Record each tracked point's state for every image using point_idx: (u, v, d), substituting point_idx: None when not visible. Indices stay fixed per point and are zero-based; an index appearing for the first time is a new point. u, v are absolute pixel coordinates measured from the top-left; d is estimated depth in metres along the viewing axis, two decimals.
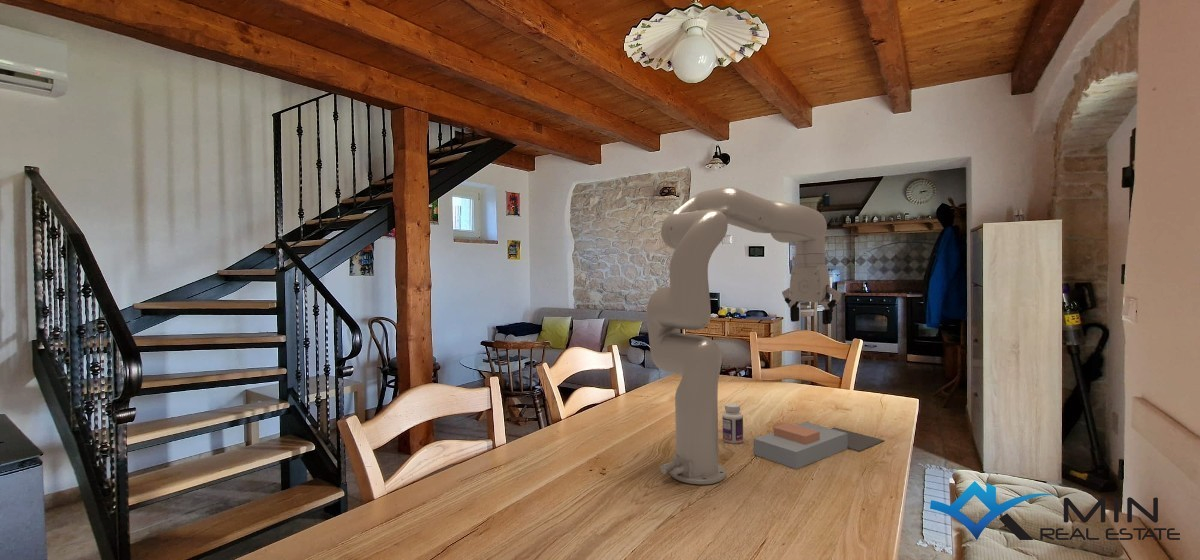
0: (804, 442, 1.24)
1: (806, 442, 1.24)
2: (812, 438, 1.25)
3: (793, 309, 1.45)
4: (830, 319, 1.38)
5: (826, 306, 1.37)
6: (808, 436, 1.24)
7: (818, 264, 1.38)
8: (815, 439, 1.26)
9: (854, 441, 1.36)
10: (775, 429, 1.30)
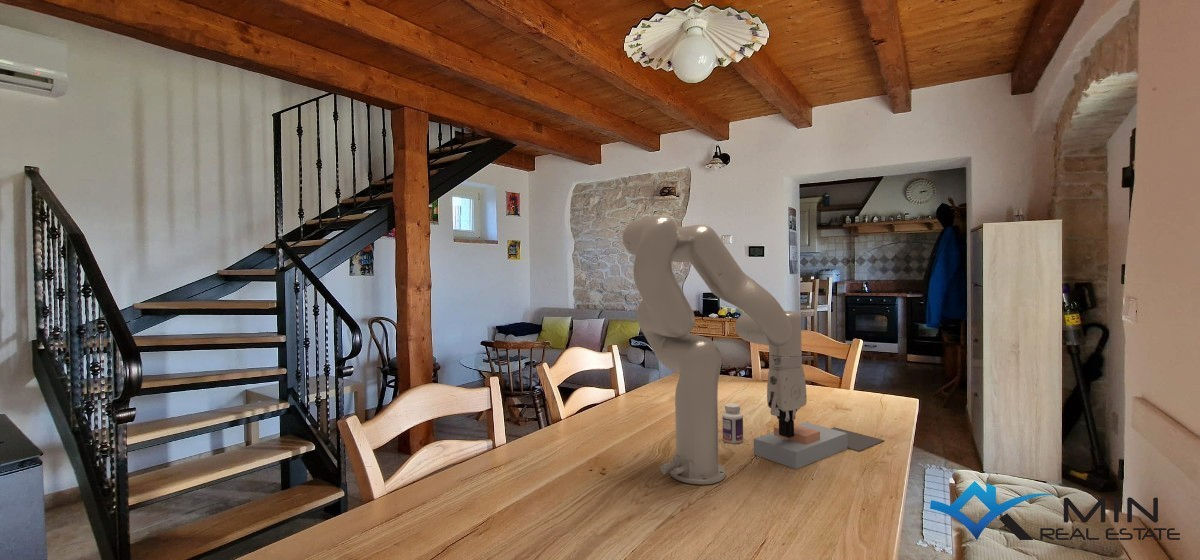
0: (805, 442, 1.24)
1: (807, 442, 1.24)
2: (813, 438, 1.25)
3: None
4: None
5: (793, 416, 1.26)
6: (809, 436, 1.24)
7: None
8: (815, 439, 1.26)
9: (854, 441, 1.36)
10: (775, 429, 1.30)
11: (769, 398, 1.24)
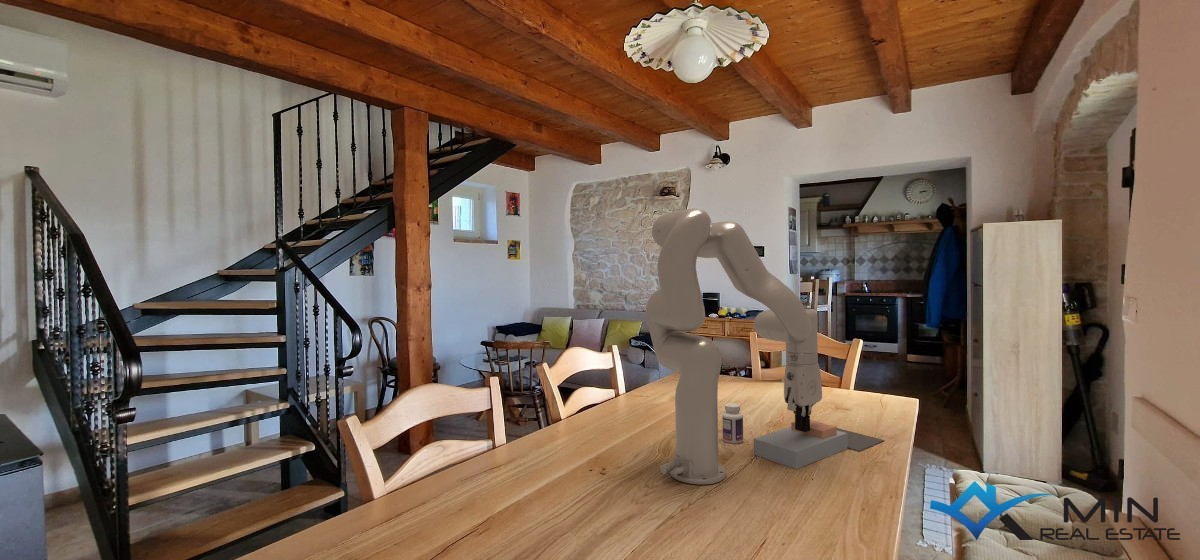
0: (821, 436, 1.27)
1: (823, 436, 1.27)
2: (829, 433, 1.29)
3: None
4: None
5: (809, 411, 1.30)
6: (825, 431, 1.28)
7: None
8: (832, 434, 1.29)
9: (854, 441, 1.36)
10: (793, 424, 1.34)
11: (786, 393, 1.28)
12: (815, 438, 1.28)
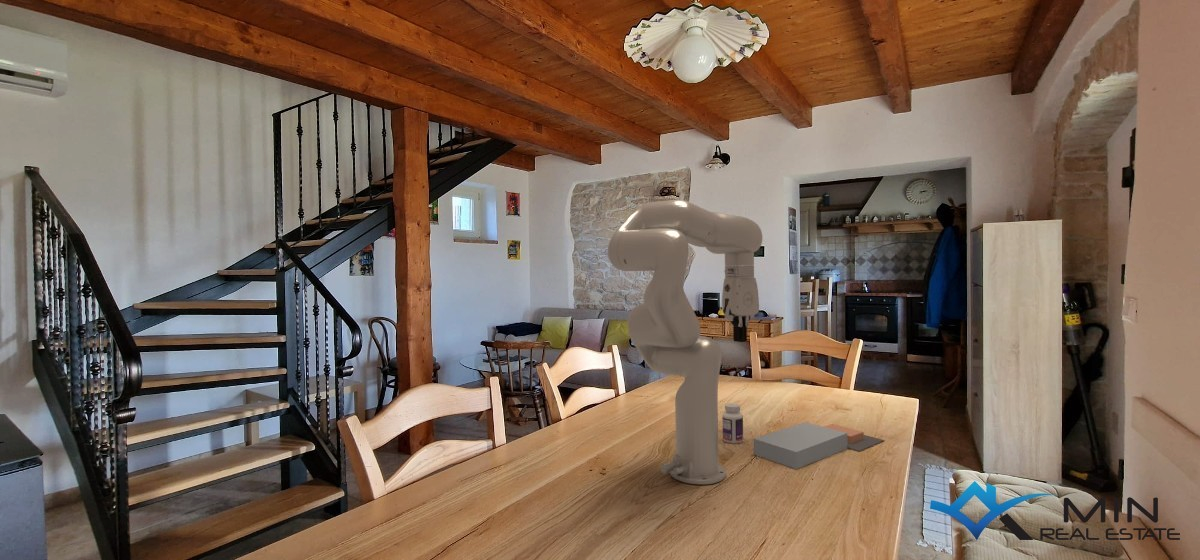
0: None
1: (862, 434, 1.37)
2: (857, 437, 1.36)
3: None
4: None
5: (746, 323, 1.37)
6: (860, 439, 1.37)
7: None
8: (854, 436, 1.35)
9: None
10: None
11: (724, 305, 1.35)
12: (815, 438, 1.28)
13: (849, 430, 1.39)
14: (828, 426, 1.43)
